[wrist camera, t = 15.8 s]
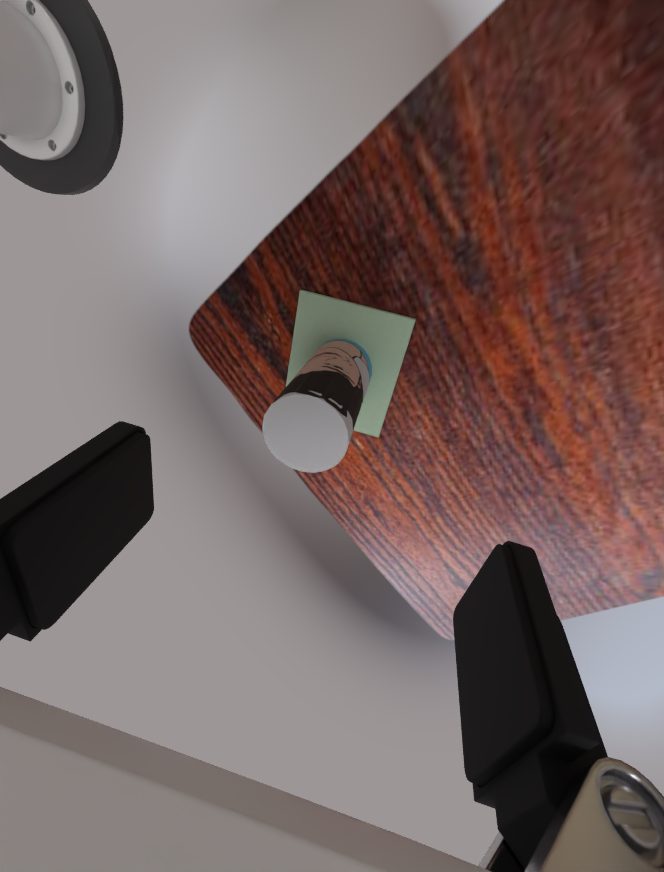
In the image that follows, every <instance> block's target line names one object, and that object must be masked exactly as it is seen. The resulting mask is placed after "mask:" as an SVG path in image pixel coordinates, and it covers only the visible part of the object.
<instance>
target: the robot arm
mask: <svg viewBox="0 0 664 872" xmlns="http://www.w3.org/2000/svg"><path fill="white" fill-rule="evenodd" d="M84 119H85V95H84V86H83V81H82V76H81V72H80V68H79V65H78V62H77V59H76V56H75V53H74V51H73V49H72V47H71V45H70V42H69V40H68V38H67V36H66V34H65V33H64V31H63V29H62V28H61V26H60V25H59V23H58V21H57V20H56V19H55V17H54V16H53V15H52V14H51V12H50V11H49V10H48V9H47V7H46V6H45V5H44V4H43V3H42V2H41V1H39V0H0V140H1V141H2V142H3V143H5V144H6V145H7V146H8V147H9V148H11V149H13V150H14V151H16V152H18V153H19V154H21V155H24V156H26V157H29V158H32V159H38V160H56V159H59V158H62V157H64V156H65V155H66V154H68V153H69V152H70V151H71V150H72V149H73V148H74V146H75V145H76V144H77V142H78V139H79V137H80V135H81V133H82V128H83V124H84ZM153 511H154V500H153V481H152V463H151V444H150V437H149V436H148V435H146V432H145V430H144V428H142V427H139V426H136V425H133V424H129V423H126V422H118V423H116V424H114V425H113V426H111V427H109V428H108V429H106V430H105V431H103V432H102V433H100V434H99V435H97V436H96V437H94V438H93V439H91V440H90V441H88V442H87V443H85V444H83V445H82V446H80V447H79V448H77V449H76V450H74V451H73V452H71V453H70V454H68V455H67V456H65V457H64V458H62V459H61V460H59V461H58V462H56V463H54V464H53V465H51V466H50V467H49V468H47V469H45V470H44V471H42V472H41V473H39V474H38V475H36V476H35V477H33V478H32V479H30V480H29V481H27V482H25V483H24V484H22V485H21V486H19V487H18V488H17V489H15V490H13V491H12V492H10V493H9V494H7V495H6V496H4V497H3V498H1V499H0V640H1V639H2V638H3V637H4V636H5V635H6V634H7V633H9V634H12V635H14V636H17V637H20V638H22V639H25V640H28V641H31V640H32V639H33V638H34V637H35V636H36V635H37V634H38V633H39V632H40V631H41V630H42V629H44V630H45V629H48V628H49V627H51V626H52V625H53V624H54V623H55V622H56V621H57V620H58V619H59V618H60V617H61V616H62V615H63V613H65V611H66V610H67V609H68V608H69V607H70V606H71V605H72V604H73V603H74V602H75V600H76V599H77V598H78V597H79V596H80V595H81V594H82V593H83V592H84V591H85V590H86V589H87V587H88V586H89V585H90V584H91V583H92V582H93V581H94V580H95V579H96V578H97V576H99V574H100V573H101V572H102V571H103V570H104V569H105V568H106V567H107V566H108V565H109V564H110V562H111V561H112V560H113V559H114V558H115V557H116V556H117V555H118V554H119V553H120V552H121V550H122V549H123V548H124V547H125V546H126V545H127V544H128V543H129V542H130V541H131V540H132V538H133V537H134V536H135V535H136V534H137V533H138V532H139V531H140V529H142V528H143V526H144V525H145V524H146V523H147V522H148V521H149V520H150V518H151V516H152V514H153ZM453 625H454V638H455V651H456V664H457V677H458V690H459V703H460V716H461V729H462V742H463V755H464V768H465V774H466V777H467V779H468V781H470V782H472V783H473V792H474V801H476V802H478V803H481V804H484V805H487V806H490V807H492V808H495V809H496V817H497V825H498V830H499V833H498V834H497V836H496V838H495V839H494V841H493V843H492V844H491V846H490V847H489V849H488V851H487V853H486V854H485V856H484V857H483V859H482V861H481V862H480V864H479V866H476V865H473V864H471V863H468V862H466V861H463V860H461V859H458V858H456V857H453V856H451V855H448V854H446V853H443V852H441V851H438V850H436V849H433V848H431V847H428V846H426V845H423V844H421V843H418V842H416V841H413V840H411V839H408V838H406V837H403V836H401V835H398V834H395V833H393V832H390V831H387V830H384V829H382V828H379V827H376V826H374V825H371V824H369V823H366V822H363V821H361V820H358V819H355V818H352V817H350V816H347V815H345V814H342V813H340V812H337V811H334V810H331V809H329V808H326V807H323V806H321V805H318V804H316V803H313V802H310V801H308V800H305V799H302V798H300V797H297V796H294V795H292V794H289V793H287V792H284V791H281V790H279V789H276V788H273V787H271V786H268V785H265V784H262V783H260V782H257V781H254V780H252V779H249V778H246V777H244V776H241V775H238V774H236V773H233V772H230V771H228V770H225V769H222V768H219V767H217V766H214V765H211V764H209V763H206V762H203V761H201V760H198V759H195V758H193V757H190V756H187V755H184V754H182V753H179V752H176V751H173V750H171V749H168V748H166V747H163V746H160V745H157V744H155V743H152V742H149V741H147V740H144V739H141V738H138V737H136V736H133V735H130V734H128V733H125V732H122V731H120V730H117V729H114V728H111V727H108V726H106V725H103V724H100V723H98V722H95V721H92V720H89V719H87V718H84V717H81V716H78V715H76V714H73V713H70V712H68V711H65V710H62V709H59V708H57V707H54V706H51V705H48V704H45V703H43V702H40V701H37V700H35V699H32V698H29V697H26V696H24V695H21V694H18V693H15V692H13V691H10V690H7V689H5V688H1V687H0V872H664V796H662V794H661V793H660V792H659V791H658V789H657V788H656V787H655V786H654V785H653V784H652V783H651V782H650V781H649V780H648V779H647V778H646V777H645V776H644V775H642V774H641V773H640V772H639V771H637V770H636V769H635V768H633V767H632V766H630V765H628V764H626V763H624V762H623V761H621V760H617V759H613V758H609V757H608V756H607V753H606V750H605V747H604V744H603V741H602V738H601V736H600V733H599V730H598V727H597V724H596V721H595V718H594V715H593V713H592V710H591V707H590V704H589V701H588V698H587V695H586V692H585V689H584V687H583V684H582V681H581V678H580V675H579V672H578V669H577V666H576V663H575V661H574V658H573V655H572V652H571V649H570V646H569V643H568V640H567V637H566V634H565V632H564V629H563V626H562V623H561V621H560V619H559V617H558V616H557V614H556V611H555V609H554V606H553V603H552V600H551V597H550V594H549V591H548V588H547V585H546V582H545V579H544V576H543V573H542V570H541V567H540V565H539V562H538V559H537V556H536V553H535V551H534V550H533V549H532V548H530V547H527V546H524V545H520V544H517V543H514V542H511V541H507V542H505V543H504V544H503V545H501V544H498V545H496V546H495V548H494V549H493V551H492V552H491V554H490V555H489V557H488V558H487V560H486V561H485V563H484V565H483V566H482V568H481V569H480V571H479V572H478V574H477V575H476V577H475V578H474V580H473V581H472V583H471V584H470V586H469V587H468V589H467V591H466V592H465V594H464V595H463V597H462V598H461V600H460V601H459V603H458V604H457V606H456V608H455V611H454V616H453Z"/></svg>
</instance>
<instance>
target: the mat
mask: <svg viewBox="0 0 664 872" xmlns="http://www.w3.org/2000/svg"><path fill="white" fill-rule="evenodd" d="M415 320H416V319H415V318H411V317H407V316H403V315H399V314H395V313H391V312H387V311H384V310H380V309H376V308H372V307H368V306H364V305H360V304H356V303H352V302H349V301H345V300H341V299H337V298H333V297H329V296H325V295H321V294H317V293H314V292H310V291H306V290H300V293H299V299H298V306H297V313H296V320H295V327H294V334H293V340H292V347H291V354H290V361H289V368H288V375H287V381H286V387H287V385H288V384H289V383H290V382H291V381H292V379H293V378H294V377H295V376H296V375H297V373H298V372H299V371H300V370H301V369H302V367H303V366H304V365H305V364H306V363H307V361H308V360H309V359H310V358H311V357H312V355H313V354H314V353H315V352H316V351H317V349H318V348H319V347H321V346H322V345H323V344H324V343H326V342H328V341H331V340H334V339H347V340H350V341H353V342H355V343H357V344H358V345H359V346H361V347H362V348H363V349H364V350H365V351H366V353H367V354H368V356H369V358H370V361H371V364H372V376H371V379H370V382H369V385H368V388H367V391H366V394H365V397H364V400H363V403H362V406H361V409H360V412H359V415H358V418H357V421H356V424H355V427H354V431H358V432H361V433H365V434H368V435H372V436H375V437H379V435H380V431H381V428H382V425H383V422H384V419H385V416H386V412H387V409H388V406H389V403H390V400H391V397H392V393H393V390H394V387H395V384H396V381H397V378H398V374H399V371H400V368H401V365H402V362H403V359H404V355H405V352H406V349H407V346H408V343H409V340H410V336H411V333H412V330H413V327H414V324H415Z"/></svg>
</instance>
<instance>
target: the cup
mask: <svg viewBox="0 0 664 872" xmlns="http://www.w3.org/2000/svg"><path fill="white" fill-rule="evenodd" d="M371 376H372V364H371V361H370V358H369V356H368V354H367V353H366V351H365V350H364V349H363V348H362V347H361V346H359V345H358V344H357V343H355V342H353V341H350V340H347V339H334V340H331V341H328V342H326V343H324V344H323V345H322V346H321V347H319V348H318V349H317V351H316V352H315V353H314V354H313V355H312V357H311V358H310V359H309V360H308V361H307V363H306V364H305V365H304V366H303V367H302V369H301V370H300V371H299V372H298V373H297V375H296V376H295V377H294V378H293V379H292V381H291V382H290V383H289V384H288V385H287V387H286V388H285V389H284V390H283V391H282V393H281V394H280V395H279V396H278V397H277V399H276V400H275V401H274V402H273V403H272V405H271V406H270V407H269V409H268V411H267V412H266V414H265V415H264V420H263V425H262V429H263V435H264V440H265V442H266V444H267V446H268V448H269V450H270V451H271V452H272V454H273V455H275V457H276V458H277V459H278V460H279V461H281V462H282V463H284V464H285V465H287V466H288V467H290V468H293V469H296V470H298V471H301V472H312V473H316V472H321V471H326V470H328V469H330V468H332V467H334V466H335V465H337V464H338V463H339V462H340V460H341V459H342V458H343V457H344V456H345V453H346V450H347V447H348V444H349V441H350V439H351V436H352V433H353V430H354V427H355V424H356V421H357V418H358V415H359V412H360V409H361V406H362V403H363V400H364V397H365V394H366V391H367V388H368V385H369V382H370V379H371Z"/></svg>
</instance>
